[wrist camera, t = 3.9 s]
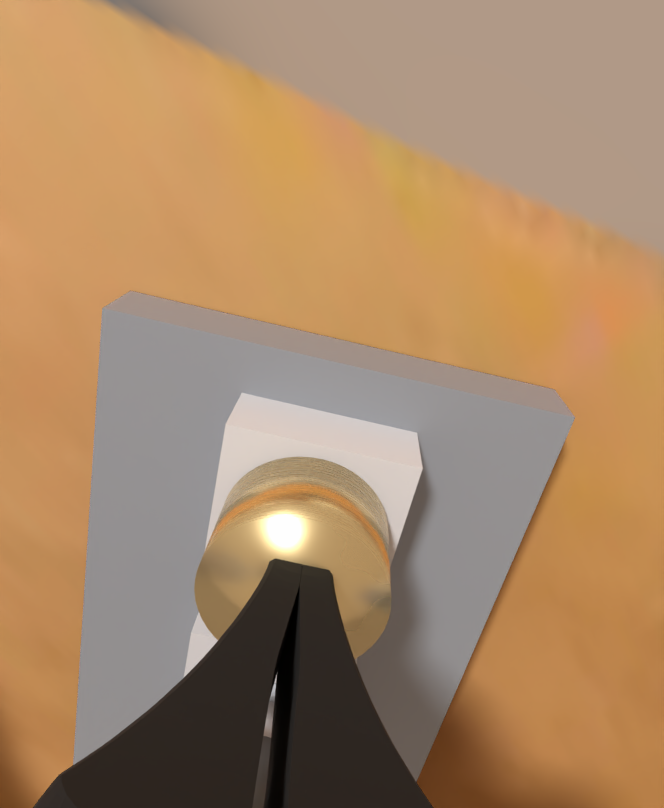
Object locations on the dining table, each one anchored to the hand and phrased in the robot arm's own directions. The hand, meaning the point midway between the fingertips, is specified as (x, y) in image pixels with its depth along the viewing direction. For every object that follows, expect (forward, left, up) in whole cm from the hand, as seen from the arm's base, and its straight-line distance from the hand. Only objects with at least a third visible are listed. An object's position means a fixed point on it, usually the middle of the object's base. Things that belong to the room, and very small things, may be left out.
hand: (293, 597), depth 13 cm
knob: (0, 0, -4) cm, 4 cm away
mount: (0, -7, -7) cm, 10 cm away
